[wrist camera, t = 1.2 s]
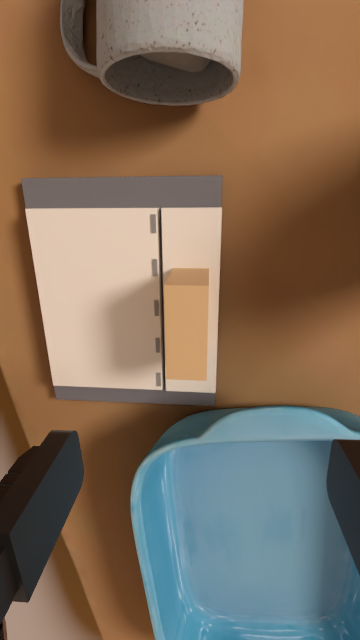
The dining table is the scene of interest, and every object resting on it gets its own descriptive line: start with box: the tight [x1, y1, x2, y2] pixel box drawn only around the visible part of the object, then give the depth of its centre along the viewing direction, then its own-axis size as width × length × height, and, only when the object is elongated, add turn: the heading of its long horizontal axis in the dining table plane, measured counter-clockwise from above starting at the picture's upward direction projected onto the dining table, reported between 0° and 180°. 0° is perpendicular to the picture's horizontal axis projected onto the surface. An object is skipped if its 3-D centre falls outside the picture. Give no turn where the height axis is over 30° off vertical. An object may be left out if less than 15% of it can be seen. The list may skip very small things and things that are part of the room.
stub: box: [161, 207, 222, 393], centre depth 22 cm, size 14×4×6 cm, turn 0°
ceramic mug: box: [60, 0, 244, 106], centre depth 17 cm, size 11×8×8 cm
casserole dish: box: [130, 405, 360, 640], centre depth 30 cm, size 37×22×7 cm, turn 6°
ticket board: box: [21, 175, 223, 406], centre depth 25 cm, size 18×14×2 cm
